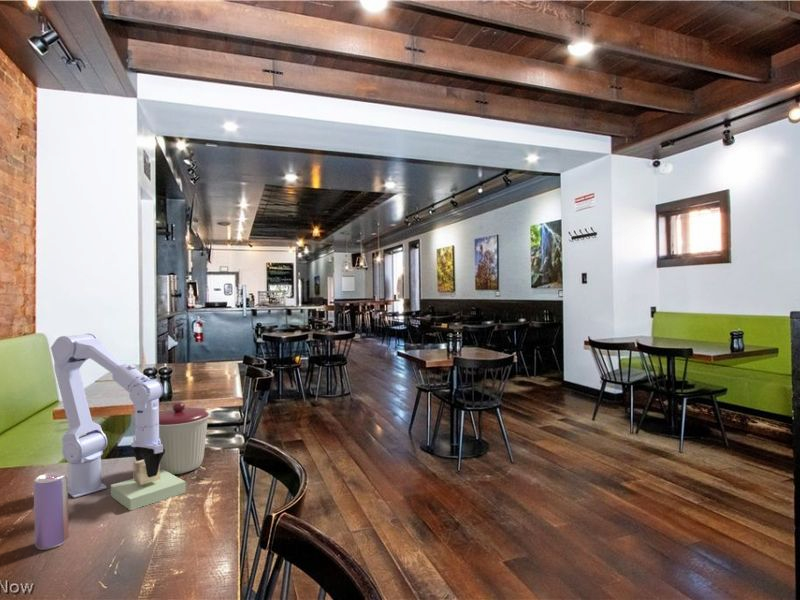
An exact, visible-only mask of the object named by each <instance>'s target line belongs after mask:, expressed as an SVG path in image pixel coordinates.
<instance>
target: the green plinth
mask: <svg viewBox="0 0 800 600" xmlns="http://www.w3.org/2000/svg"><path fill="white" fill-rule="evenodd" d="M186 491H187V490H186V481H185V480H183V479H181V478H179V477H178V476H175V474H174V475H172V474H171V473H169V472H167V471H165V470H161V471H160V479H159V480H156V481H153V482H149V483H146V484H143V485H140V484H138V483H137V482H135V481H133V478H131V479H127V480H124V481H123V480H122V481H120V482H117V483H113V484H110V496H111V497H112V498H113V499H115V501H117V502H118V503H119V504H121V505H122V506H123V505H124V506H123V507H125V508H126V509H127V508H128V511H130V510H132V511H134V510H133V509H135V510H137V509H136V508H138V509H140V508H139V507H141V508H143V507H142V506H144V507H146V506H145V505H147V506H149V504H150V505H152V503H153V504H154V503H159V502H161V501H164V500H167V499H170V498H173V497H176V496H179V495H181V494H184V493H185V494H186Z"/></svg>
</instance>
